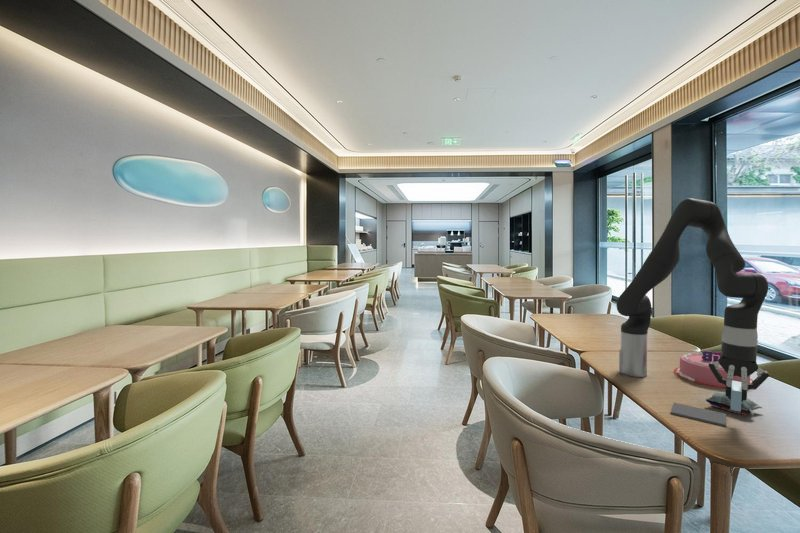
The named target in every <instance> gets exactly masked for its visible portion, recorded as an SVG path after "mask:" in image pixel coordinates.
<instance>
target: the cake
mask: <svg viewBox="0 0 800 533" xmlns="http://www.w3.org/2000/svg"><path fill="white" fill-rule="evenodd" d="M720 357H721V351H714V352H713V350H712V351H711V350H703V351H702V352H689V353H685V354H682V355H681V356H680V358H679V367H676V368H674V369H673V374H675V376H677V377H678V378H681V379H683V380H685V381H688V382H691V383H695V384H697V385H701V386H706V387H711V388H717V389H722V390H723V389H724V390H726V386H725V385H724V384H722V383H719V382H718V380H717V379H716V377H715V375H714V374H713V372H712V371H711V369H710V368H709V366H708V365H709V362H716V361H719V358H720ZM718 371H719V372H720V374H721V375H722V377H723V378H724V379H726V380H727V373H726V371H725V370H724V369H723V368H722V366H721V365H719V369H718ZM733 381H739V382H741V385H742V380H741V377H739V376H733ZM753 381H754V380H753V379H752V378H751V375H750V376H749V377H747V384H748V383H752V382H753Z"/></svg>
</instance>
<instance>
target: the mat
mask: <svg viewBox="0 0 800 533" xmlns="http://www.w3.org/2000/svg"><path fill="white" fill-rule="evenodd" d="M670 414H671V415H675V416H680V417H682V418H687V419H692V420H695V421H700V422H705V423H709V424H713V425H718V426H722V427H727V413H724V412H719V411H714V410H710V409H707V408H706V409H705V408H703V407H701V408H700V407H697V406H692V405H687V404H683V403H677V402H673V404H672V407H671V410H670Z"/></svg>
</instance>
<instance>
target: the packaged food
mask: <svg viewBox="0 0 800 533" xmlns="http://www.w3.org/2000/svg"><path fill="white" fill-rule="evenodd" d="M725 394H726V391H725V392H723V391H716V392H714V393H713V394H712V396H711V397H710V396H709V397H708V398H705V400H704V401H706V402H707V403H708V404H709V405H711V406H712V407H715V408H717V409H721V410H724V411H727V412H731V413H735V414H739V415H744V416H745V415H747V416H748V415H752V416H755V415H754V412H753V411H755V410H759V409H763V406H761V405H760V404H758V403H756V402H754V401H753V400H751V399H750V398H747V399H746V401H745V400H743V402H741V412H740V411H735V410H730V399H728V397H726V395H725Z"/></svg>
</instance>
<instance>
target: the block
mask: <svg viewBox="0 0 800 533" xmlns="http://www.w3.org/2000/svg"><path fill="white" fill-rule="evenodd" d="M741 399H742V386H741V382H739V381H733V380H732V386H731V399H730V410H735V411H740V412H741Z"/></svg>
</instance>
